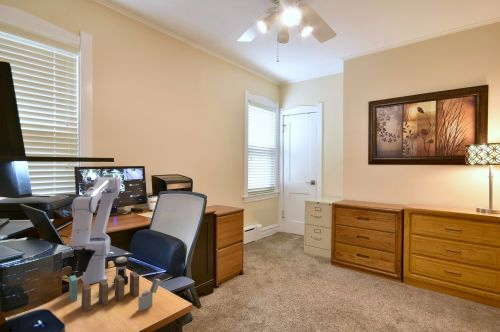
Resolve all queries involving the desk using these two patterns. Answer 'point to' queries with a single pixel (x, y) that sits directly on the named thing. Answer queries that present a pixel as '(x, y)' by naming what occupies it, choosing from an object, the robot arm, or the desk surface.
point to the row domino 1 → (86, 297)
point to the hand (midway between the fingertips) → (76, 271)
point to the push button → (121, 269)
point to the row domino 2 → (103, 292)
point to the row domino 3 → (119, 288)
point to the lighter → (148, 296)
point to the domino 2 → (134, 284)
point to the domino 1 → (73, 288)
